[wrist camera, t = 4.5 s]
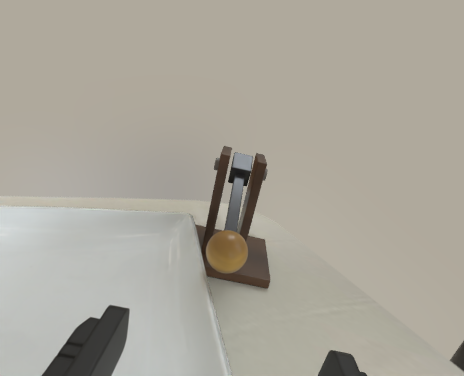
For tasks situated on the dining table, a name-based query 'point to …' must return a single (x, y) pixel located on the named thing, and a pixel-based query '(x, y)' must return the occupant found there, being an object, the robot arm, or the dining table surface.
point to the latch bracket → (256, 262)
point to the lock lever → (231, 223)
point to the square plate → (106, 289)
